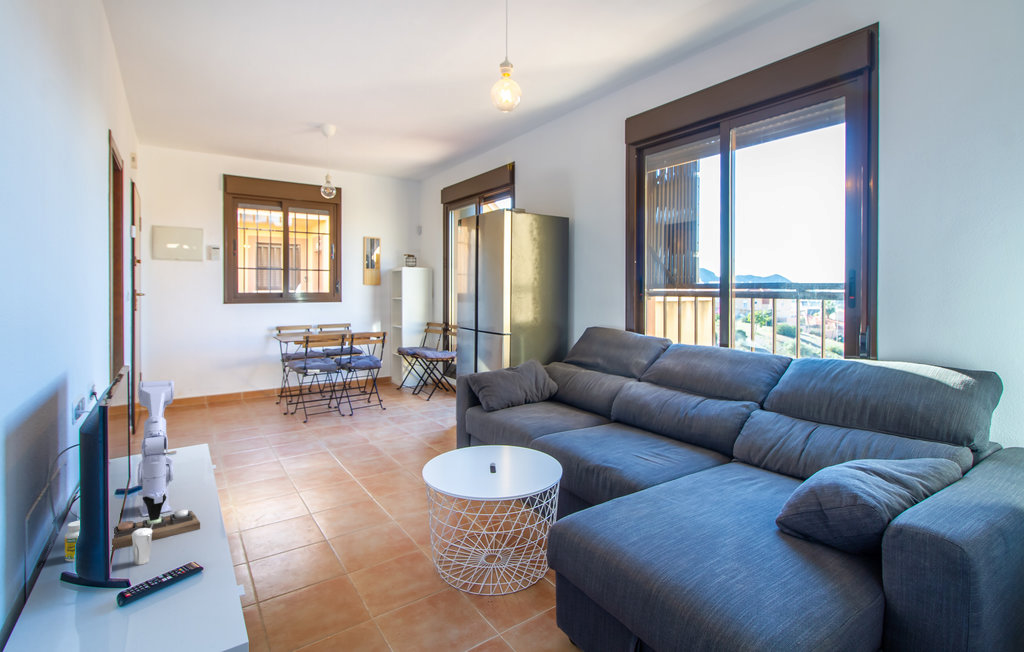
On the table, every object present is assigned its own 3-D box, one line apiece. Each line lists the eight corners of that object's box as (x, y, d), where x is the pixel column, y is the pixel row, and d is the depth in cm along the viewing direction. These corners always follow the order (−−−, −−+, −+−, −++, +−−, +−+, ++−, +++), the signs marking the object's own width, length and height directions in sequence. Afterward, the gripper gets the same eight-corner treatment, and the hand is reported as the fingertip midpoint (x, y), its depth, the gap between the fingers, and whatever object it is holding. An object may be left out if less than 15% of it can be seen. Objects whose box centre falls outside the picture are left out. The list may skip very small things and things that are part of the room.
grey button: (173, 516, 159) (173, 511, 159) (186, 513, 161) (186, 508, 161) (175, 519, 156) (175, 514, 156) (189, 516, 158) (189, 511, 158)
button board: (106, 535, 151) (106, 524, 151) (191, 516, 166) (191, 506, 166) (110, 550, 142) (110, 538, 142) (200, 528, 157) (200, 517, 157)
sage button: (146, 524, 154) (146, 519, 154) (160, 520, 156) (160, 515, 156) (148, 528, 151) (148, 522, 151) (162, 524, 154) (162, 519, 154)
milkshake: (159, 558, 138) (159, 522, 138) (139, 567, 133) (139, 530, 133) (147, 555, 140) (147, 520, 140) (127, 564, 135) (127, 527, 134)
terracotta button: (117, 528, 149) (117, 523, 149) (132, 525, 151) (132, 519, 151) (118, 532, 146) (118, 527, 146) (134, 529, 149) (134, 523, 149)
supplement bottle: (91, 550, 142) (91, 517, 141) (88, 559, 137) (88, 524, 137) (66, 555, 139) (66, 521, 138) (62, 564, 134) (62, 528, 134)
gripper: (135, 472, 156) (134, 515, 156) (141, 485, 145) (141, 531, 146) (162, 467, 161) (162, 509, 161) (171, 479, 150) (170, 524, 151)
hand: (154, 519), depth 154 cm, fingers closed, pressing on sage button
